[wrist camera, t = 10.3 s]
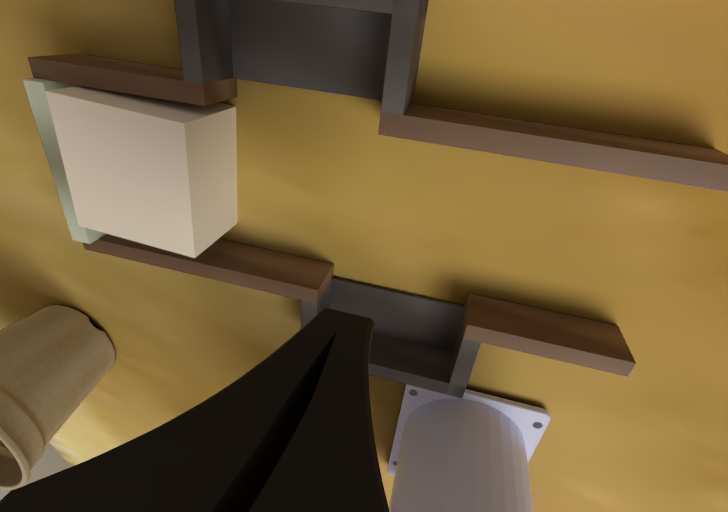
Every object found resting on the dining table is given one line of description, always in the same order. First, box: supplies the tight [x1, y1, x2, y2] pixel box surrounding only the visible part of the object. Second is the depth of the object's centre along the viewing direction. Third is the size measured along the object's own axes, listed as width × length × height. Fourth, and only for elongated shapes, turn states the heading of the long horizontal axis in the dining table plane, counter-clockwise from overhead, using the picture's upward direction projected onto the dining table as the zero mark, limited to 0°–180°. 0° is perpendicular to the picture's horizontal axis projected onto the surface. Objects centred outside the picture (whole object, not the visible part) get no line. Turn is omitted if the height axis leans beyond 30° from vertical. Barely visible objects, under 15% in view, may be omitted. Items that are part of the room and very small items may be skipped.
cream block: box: [46, 86, 237, 258], centre depth 19 cm, size 6×6×4 cm
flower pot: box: [0, 305, 115, 490], centre depth 26 cm, size 9×9×9 cm
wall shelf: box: [23, 0, 728, 399], centre depth 18 cm, size 17×27×3 cm, turn 85°
